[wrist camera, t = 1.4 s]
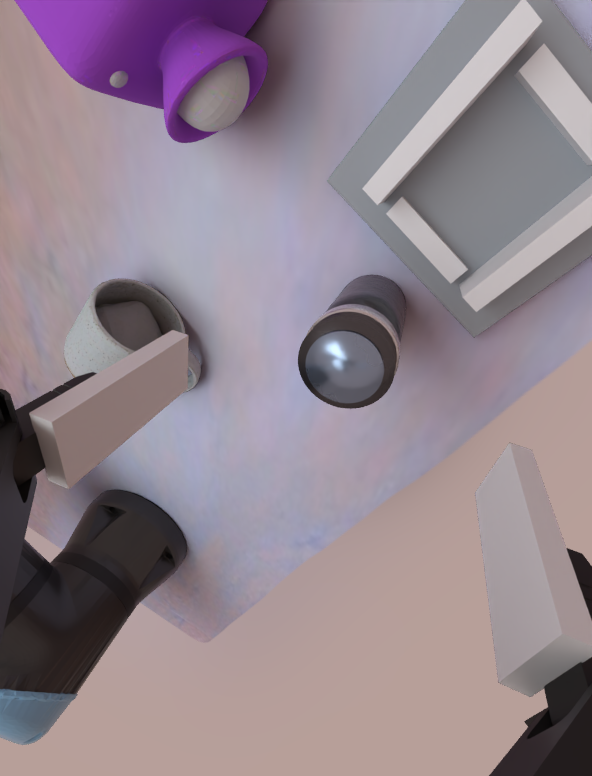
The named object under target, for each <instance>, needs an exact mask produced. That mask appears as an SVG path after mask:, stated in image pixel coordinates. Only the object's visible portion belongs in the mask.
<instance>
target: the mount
mask: <svg viewBox="0 0 592 776" xmlns="http://www.w3.org/2000/svg"><path fill="white" fill-rule="evenodd" d="M327 182H328V183H329V184H330V185H331V186H332V187H333V188H334V189H335V190H336V191H337V192H338V193H339V195H340V196H341V197H342V198H343V199H344V200H345V201H346V202H347V203H348V204H349V205H350V206H351V207H352V208H353V209H354V211H355V212H356V213H357V214H358V215H359V216H360V217H361V218H362V219H363V220H364V221H365V222H366V223H367V224H368V225H369V226H370V228H371V229H372V230H373V231H374V232H375V233H376V234H377V235H378V236H379V237H380V238H381V239H382V240H383V241H384V242H385V244H386V245H387V246H388V247H389V248H390V249H391V250H392V251H393V252H394V253H395V254H396V255H397V256H398V257H399V258H400V260H401V261H402V262H403V263H404V264H405V265H406V266H407V267H408V268H409V269H410V270H411V271H412V272H413V273H414V274H415V276H416V277H417V278H418V279H419V280H420V281H421V282H422V283H423V284H424V285H425V286H426V287H427V288H428V289H429V290H430V292H431V293H432V294H433V295H434V296H435V297H436V298H437V299H438V300H439V301H440V302H441V303H442V304H443V305H444V306H445V308H446V309H447V310H448V311H449V312H450V313H451V314H452V315H453V316H454V317H455V318H456V319H457V320H458V321H459V322H460V324H461V325H462V326H463V327H464V328H465V329H466V330H467V331H468V332H469V333H470V334H471V335H472V336H473V337H474V338H475V337H476V336H478V335H479V334H480V333H482V332H483V331H485V330H486V329H487V328H489V327H490V326H492V325H493V324H495V323H496V322H497V321H499V320H500V319H502V318H503V317H505V316H506V315H507V314H509V313H510V312H512V311H513V310H514V309H516V308H517V307H519V306H520V305H522V304H523V303H524V302H526V301H527V300H529V299H530V298H531V297H533V296H534V295H536V294H537V293H539V292H540V291H541V290H543V289H544V288H546V287H547V286H548V285H550V284H551V283H553V282H554V281H556V280H557V279H558V278H560V277H561V276H563V275H564V274H565V273H567V272H568V271H570V270H571V269H573V268H574V267H575V266H577V265H578V264H580V263H581V262H582V261H584V260H585V259H587V258H588V257H590V256H591V255H592V51H591V50H590V48H589V47H588V46H587V45H586V43H585V42H584V41H583V39H582V38H581V37H580V35H579V34H578V33H577V32H576V30H575V29H574V28H573V26H572V25H571V24H570V23H569V21H568V20H567V19H566V17H565V16H564V15H563V13H562V12H561V11H560V10H559V8H558V7H557V6H556V4H555V3H554V2H553V1H552V0H465V2H464V3H463V4H462V6H461V7H460V8H459V9H458V11H457V12H456V13H455V15H454V16H453V17H452V19H451V20H450V21H449V22H448V24H447V25H446V26H445V28H444V29H443V30H442V32H441V33H440V34H439V35H438V37H437V38H436V39H435V41H434V42H433V43H432V45H431V46H430V47H429V48H428V50H427V51H426V52H425V54H424V55H423V56H422V58H421V59H420V60H419V61H418V63H417V64H416V65H415V67H414V68H413V69H412V71H411V72H410V73H409V74H408V76H407V77H406V78H405V80H404V81H403V82H402V84H401V85H400V86H399V87H398V89H397V90H396V91H395V93H394V94H393V95H392V97H391V98H390V99H389V100H388V102H387V103H386V104H385V106H384V107H383V108H382V110H381V111H380V112H379V113H378V115H377V116H376V117H375V119H374V120H373V121H372V123H371V124H370V125H369V126H368V128H367V129H366V130H365V132H364V133H363V134H362V136H361V137H360V138H359V139H358V141H357V142H356V143H355V145H354V146H353V147H352V149H351V150H350V151H349V152H348V154H347V155H346V156H345V158H344V159H343V160H342V162H341V163H340V164H339V166H338V167H337V168H336V169H335V171H334V172H333V173H332V175H331V176H330V177H329V179H328V180H327Z"/></svg>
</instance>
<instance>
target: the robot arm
mask: <svg viewBox="0 0 592 776" xmlns="http://www.w3.org/2000/svg"><path fill="white" fill-rule="evenodd" d="M188 336H189V335H187V334H184V333H181V332H178V331H175V330H172V331H170V332H168V333H167V334H165V335H163V336H161V337H160V338H158V339H156V340H154V341H153V342H151V343H149V344H148V345H146V346H144V347H142V348H141V349H139V350H137V351H135V352H134V353H132V354H130V355H128V356H127V357H125V358H123V359H122V360H120V361H118V362H116V363H115V364H113V365H111V366H109V367H108V368H106V369H104V370H103V371H101V372H99V373H95V372H91V373H87V374H84V375H80V376H77V377H75V378H73V379H71V380H70V381H68V382H66V383H64V385H63V386H62V385H61V386H59V387H57V388H55V389H53V391H50V392H48V393H46V394H44V395H42V396H41V397H39V398H37V399H35V400H33V401H32V402H30V403H28V404H26V405H24V406H23V407H21V408H19V409H17V410H15V408H14V405H13V402H12V399H11V396H10V394H9V393H8V392H7V391H6V390H3V389H0V737H1V738H3V739H6V740H8V741H11V742H14V743H17V744H21V745H26V744H31V743H34V742H36V741H37V740H39V739H40V738H41V737H43V736H44V735H45V734H46V733H47V732H48V731H49V730H50V728H51V727H52V726H53V724H54V723H55V722H56V721H57V719H58V718H59V717H60V715H61V714H62V713H63V711H64V710H65V709H66V708H67V706H68V705H69V704H70V702H71V701H72V700H74V699H75V698H76V696H77V692H78V691H79V689H80V688H81V686H82V685H83V683H84V682H85V681H86V679H87V678H88V676H89V675H90V673H91V672H92V670H93V669H94V667H95V666H96V664H97V663H98V662H99V660H100V658H101V657H102V656H103V654H104V653H105V651H106V650H107V648H108V647H109V645H110V644H111V642H112V641H113V639H114V638H115V636H116V635H117V634H118V632H119V631H120V629H121V628H122V626H123V625H124V623H125V622H126V620H127V619H128V617H129V616H130V615H131V613H132V612H133V610H134V609H135V607H136V606H137V605H138V604H139V603H140V602H141V601H142V600H143V599H144V598H145V597H147V596H148V595H149V594H150V593H151V592H153V591H154V590H155V589H156V588H157V587H158V586H160V585H161V584H162V583H163V582H164V581H166V580H167V579H168V578H169V577H170V576H171V575H173V574H174V572H175V571H176V570H177V569H178V567H179V566H180V564H181V563H182V561H183V560H184V558H185V556H186V551H187V550H186V543H185V540H184V537H183V535H182V533H181V532H180V530H179V528H178V527H177V526H176V524H175V523H174V522H173V521H172V520H171V519H170V518H169V516H167V515H166V514H165V513H164V512H163V511H162V510H161V509H159V508H158V507H157V506H155V505H154V504H152V503H151V502H149V501H148V500H146V499H144V498H142V497H140V496H138V495H135V494H133V493H130V492H126V491H120V490H110V491H106V492H104V493H102V494H101V495H100V496H99V497H98V498H97V499H96V500H94V501H93V502H92V503H91V504H90V505H89V507H88V508H87V509H86V511H85V513H84V515H83V516H82V518H81V520H80V522H79V523H78V525H77V527H76V529H75V531H74V532H73V534H72V536H71V538H70V539H69V541H68V543H67V545H66V547H65V548H64V549H63V551H62V552H61V553H60V554H59V555H58V556H57V557H56V558H55V559H54V560H53V561H52V562H51V563H49V562H48V561H47V560H46V559H45V558H44V557H43V556H42V555H41V554H40V553H38V552H37V551H36V550H35V549H34V548H33V547H32V546H31V545H30V544H29V543H28V542H27V541H26V540H25V539H24V537H25V533H26V529H27V524H28V520H29V516H30V511H31V507H32V502H33V498H34V493H35V489H36V484H37V479H36V474H37V473H38V472H40V471H41V470H42V469H44V468H45V469H46V473H47V476H48V480H49V481H51V482H53V483H55V484H57V485H60V486H62V487H64V488H66V489H68V490H69V489H70V488H71V487H72V486H73V485H74V484H76V483H77V482H78V481H79V480H80V479H81V478H83V477H84V476H85V475H86V474H87V473H89V472H90V471H91V470H92V469H93V468H94V467H96V466H97V465H98V464H99V463H100V462H102V461H103V460H104V459H105V458H106V457H107V456H109V455H110V454H111V453H112V452H113V451H114V450H116V449H117V448H118V447H119V446H120V445H122V444H123V443H124V442H125V441H126V440H127V439H129V438H130V437H131V436H132V435H133V434H135V433H136V432H137V431H138V430H139V429H140V428H142V427H143V426H144V425H145V424H146V423H147V422H149V421H150V420H151V419H152V418H153V417H155V416H156V415H157V414H158V413H159V412H160V411H162V410H163V409H164V408H165V407H166V406H168V405H169V404H170V403H171V402H172V401H173V400H175V399H176V398H177V397H178V396H179V395H180V394H182V393H183V392H184V391H185V390H186V389H188ZM475 496H476V503H477V504H476V505H477V513H478V521H479V529H480V537H481V545H482V553H483V561H484V569H485V578H486V586H487V593H488V601H489V610H490V618H491V626H492V634H493V642H494V651H495V659H496V667H497V675H498V683H500V684H502V685H504V686H507V687H509V688H511V689H514V690H516V691H518V692H520V693H522V694H524V695H527V696H529V697H531V696H533V695H534V694H536V693H538V692H539V691H541V690H542V689H545V694H546V699H547V703H548V708H546V709H544V710H543V711H541V712H539V713H538V714H536V715H534V716H533V717H531V718H529V719H528V720H526V721H525V723H526V724H527V726H528V728H527V730H526V731H525V732H524V733H523V734H522V736H521V737H520V738H519V739H518V741H517V742H516V743H515V744H514V746H513V747H512V748H511V749H510V751H509V752H508V753H507V754H506V756H505V757H504V758H503V759H502V760H501V762H500V763H499V764H498V765H497V767H496V768H495V769H494V771H493V772H492V773H491V774H490V775H489V776H592V566H591V565H590V563H589V562H588V561H587V559H586V558H585V557H584V556H583V554H581V553H578V552H576V551H573V550H570V549H568V548H566V546H565V543H564V540H563V537H562V534H561V532H560V529H559V526H558V523H557V520H556V517H555V514H554V512H553V509H552V506H551V503H550V500H549V497H548V495H547V492H546V489H545V486H544V483H543V480H542V477H541V475H540V472H539V469H538V466H537V463H536V460H535V458H534V455H533V452H532V450H531V449H528V448H525V447H522V446H519V445H516V444H513V443H509V444H508V445H507V447H506V448H505V450H504V451H503V453H502V454H501V456H500V457H499V459H498V460H497V462H496V463H495V464H494V466H493V467H492V469H491V470H490V472H489V473H488V475H487V476H486V478H485V479H484V481H483V482H482V484H481V485H480V487H479V488H478V489H477V491H476V492H475Z"/></svg>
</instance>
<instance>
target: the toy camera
mask: <svg viewBox="0 0 592 776" xmlns="http://www.w3.org/2000/svg"><path fill="white" fill-rule="evenodd" d="M15 1H16V3H17V4H18V6H19V7H20V9H21V10H22V12H23V13H24V14H25V16H26V17H27V19H28V20H29V22H30V23H31V25H32V26H33V28H34V29H35V30H36V32H37V33H38V35H39V36H40V38H41V39H42V41H43V42H44V44H45V45H46V46H47V48H48V49H49V51H50V52H51V53H52V55H53V56H54V57H55V59H56V60H57V61H58V63H59V64H60V65H61V67H62V68H63V69H64V70H65V71H66V72H67V73H68V74H69V75H70V76H71V77H72V78H73V79H74V80H76V81H77V82H78V83H80V84H82V85H84V86H85V87H87V88H90V89H92V90H95V91H98V92H101V93H104V94H108V95H111V96H114V97H118V98H121V99H125V100H128V101H131V102H135V103H139V104H143V105H147V106H152V107H156V108H161V109H164V118H165V124H166V128H167V131H168V133H169V135H170V136H171V138H172V139H174V140H175V141H177V142H181V143H189V142H195V141H198V140H201V139H204V138H206V137H209V136H211V135H213V134H215V133H216V132H218V131H220V130H222V129H224V128H226V127H228V126H230V125H231V124H232V123H234V122H235V121H236V120H237V119H238V117H239V116H240V115H241V113H242V112H243V111H244V110H245V109H246V108H247V107H248V106H249V104H250V103H251V102H252V100H253V99H254V98H255V96H256V95H257V93H258V92H259V90H260V88H261V86H262V84H263V81H264V79H265V76H266V73H267V68H268V59H267V55H266V53H265V51H264V50H263V49H262V47H261V46H259V45H258V44H256V43H255V42H253V41H251V40H250V39H247V38H245V37H244V36H245V35H246V33H247V32H248V31H249V30H250V28H251V27H252V26H253V24H254V23H255V22H256V20H257V19H258V17H259V16H260V15H261V13H262V11H263V9H264V7H265V5H266V3H267V1H268V0H15Z"/></svg>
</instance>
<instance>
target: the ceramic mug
mask: <svg viewBox="0 0 592 776" xmlns="http://www.w3.org/2000/svg"><path fill="white" fill-rule="evenodd" d="M172 330H175V331H178V332H181V333H184V334H185V327H184V324H183V321H182V319H181V317H180V315H179V313H178V311H177V310H176V309H175V307H174V306H173V305H172V304H171V302H170V301H169V300H168V299H167V298H166V297H165V296H163V295H162V294H161V293H160V292H158V291H157V290H155V289H154V288H152V287H150V286H148V285H146V284H144V283H142V282H139V281H135V280H130V279H112V280H109V281H106V282H103V283H101V284H100V285H99V286H97V287H96V288H95V289H94V291H93V292H92V293H91V295H90V296H89V298H88V300H87V302H86V304H85V306H84V307H83V309H82V311H81V313H80V314H79V316H78V318H77V320H76V322H75V323H74V325H73V327H72V328H71V330H70V332H69V333H68V335H67V338H66V342H65V347H64V359H65V363H66V365H67V367H68V369H69V371H70V372H71V374H72V375H73V376H74V377H77V376H80V375H84V374H87V373H91V372H95V373H99V372H101V371H103V370H104V369H106V368H108V367H109V366H111V365H113V364H115V363H116V362H118V361H120V360H122V359H123V358H125V357H127V356H128V355H130V354H132V353H134V352H135V351H137V350H139V349H141V348H142V347H144V346H146V345H148V344H149V343H151V342H153V341H154V340H156V339H158V338H160V337H161V336H163V335H165V334H167V333H168V332H170V331H172ZM188 368H189V370H190V371H191V373H192V375H190V376H189V377H188V389H186V390H185V391H184V392H187V391H189V390H191V389H192V388H194V387H195V385H196V384H197V383H198V380H199V377H200V373H201V367H200V363H199V361H198V359H197V357H196V356H195V355H194V354H193V353H192V352H191V351H190V350H189V349H188ZM184 392H183V393H184Z"/></svg>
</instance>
